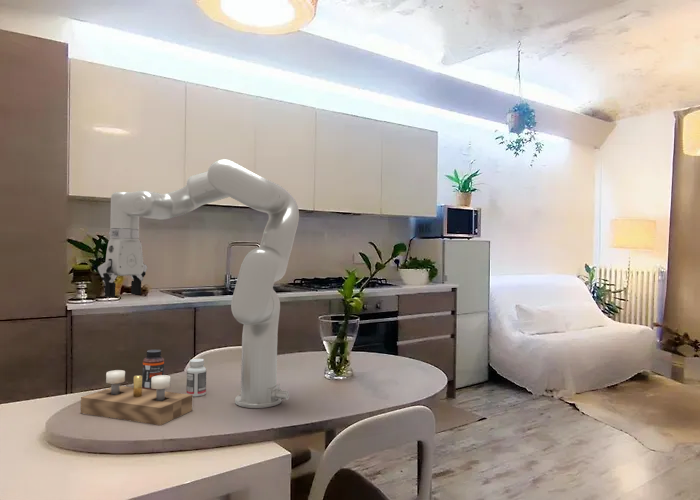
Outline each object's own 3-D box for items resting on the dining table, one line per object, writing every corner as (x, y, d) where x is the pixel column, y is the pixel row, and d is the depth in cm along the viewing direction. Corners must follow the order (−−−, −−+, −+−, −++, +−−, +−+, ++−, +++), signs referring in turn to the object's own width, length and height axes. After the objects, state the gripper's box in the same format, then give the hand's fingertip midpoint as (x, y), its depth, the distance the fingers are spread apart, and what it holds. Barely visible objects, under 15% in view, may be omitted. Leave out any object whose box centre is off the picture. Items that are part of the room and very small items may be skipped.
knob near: (173, 400, 127) (174, 376, 127) (161, 405, 123) (162, 380, 123) (159, 398, 129) (159, 374, 129) (147, 403, 125) (147, 378, 125)
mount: (192, 410, 130) (192, 394, 130) (160, 425, 119) (161, 408, 119) (116, 400, 138) (117, 385, 138) (80, 413, 126) (81, 397, 126)
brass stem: (143, 395, 129) (143, 375, 129) (137, 397, 127) (138, 377, 127) (137, 394, 130) (137, 374, 130) (131, 396, 128) (131, 376, 128)
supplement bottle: (149, 392, 146) (149, 353, 146) (137, 389, 149) (138, 350, 149) (167, 388, 150) (168, 350, 150) (156, 385, 154) (157, 347, 154)
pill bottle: (205, 391, 148) (205, 357, 149) (206, 396, 143) (207, 361, 143) (185, 392, 147) (186, 358, 147) (186, 397, 142) (187, 362, 142)
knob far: (128, 394, 132) (128, 371, 132) (115, 399, 128) (116, 374, 128) (114, 393, 133) (115, 369, 133) (101, 397, 129) (102, 373, 129)
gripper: (110, 234, 135) (109, 298, 135) (156, 236, 152) (155, 294, 151) (89, 234, 138) (88, 297, 138) (136, 236, 154) (135, 293, 154)
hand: (123, 295), depth 145 cm, fingers open, 9 cm apart
